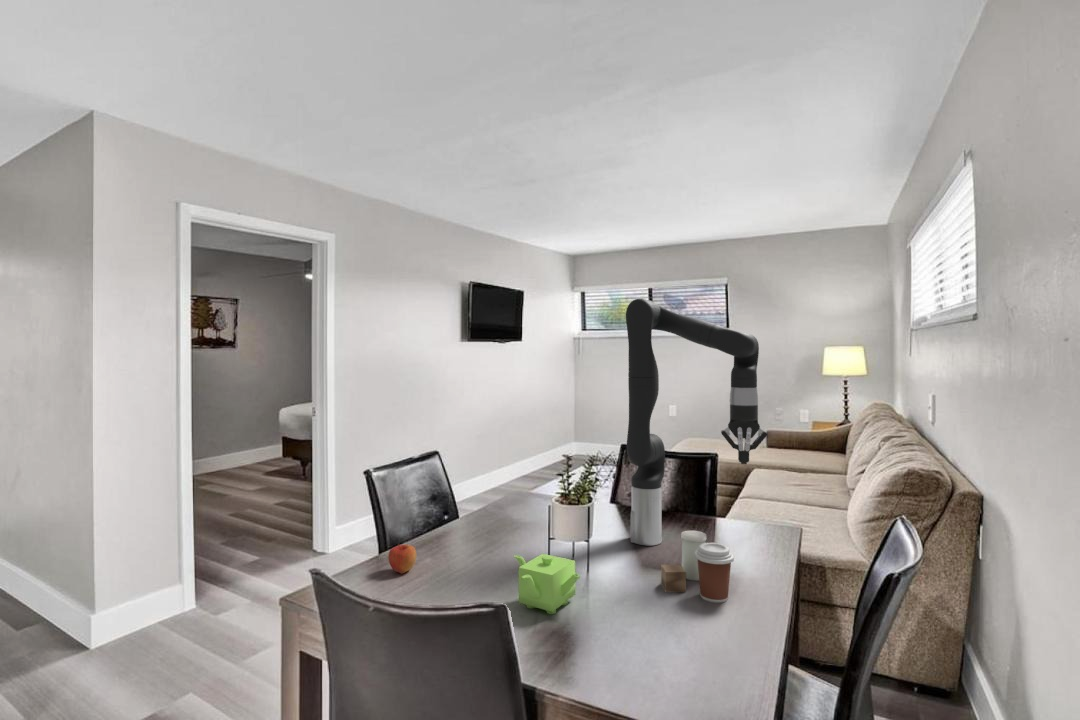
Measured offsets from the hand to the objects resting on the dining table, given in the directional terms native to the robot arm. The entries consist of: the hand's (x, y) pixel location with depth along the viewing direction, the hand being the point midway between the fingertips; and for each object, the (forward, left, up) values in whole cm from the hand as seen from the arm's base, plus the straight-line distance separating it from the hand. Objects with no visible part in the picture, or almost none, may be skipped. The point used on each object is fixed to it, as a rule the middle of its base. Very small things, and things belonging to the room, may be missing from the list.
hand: (743, 463), depth 162 cm
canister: (-14, -17, -27) cm, 35 cm away
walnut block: (-19, -26, -27) cm, 42 cm away
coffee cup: (-9, -29, -27) cm, 41 cm away
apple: (-90, -33, -27) cm, 100 cm away
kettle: (-48, -43, -27) cm, 70 cm away
